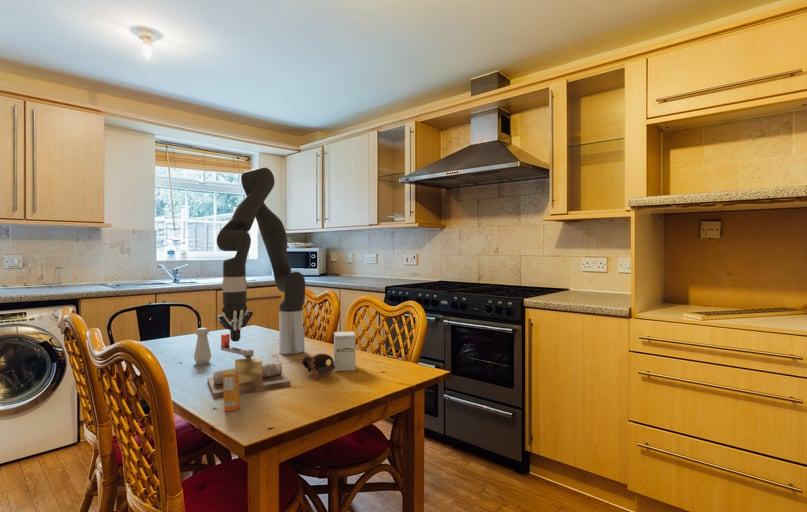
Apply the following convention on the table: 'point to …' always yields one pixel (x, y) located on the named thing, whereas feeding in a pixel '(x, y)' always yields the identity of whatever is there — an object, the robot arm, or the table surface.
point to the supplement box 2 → (344, 351)
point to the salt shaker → (202, 347)
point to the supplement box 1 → (231, 391)
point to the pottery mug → (318, 365)
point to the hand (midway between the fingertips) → (235, 341)
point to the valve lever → (226, 347)
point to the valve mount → (250, 377)
